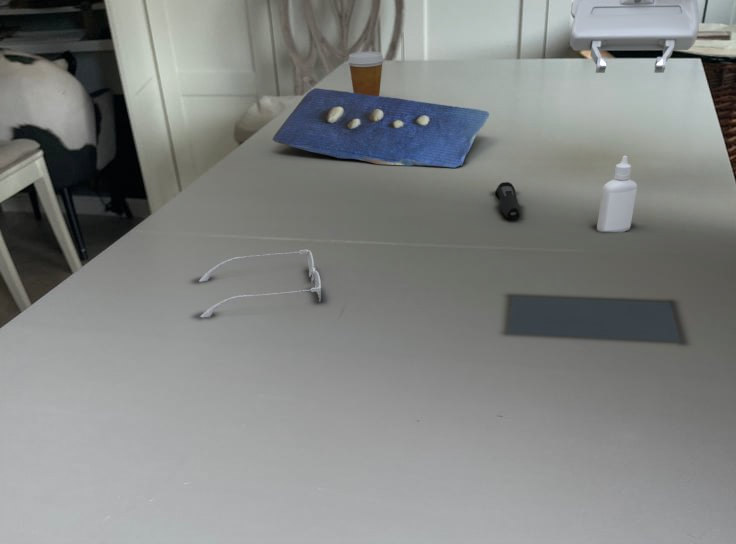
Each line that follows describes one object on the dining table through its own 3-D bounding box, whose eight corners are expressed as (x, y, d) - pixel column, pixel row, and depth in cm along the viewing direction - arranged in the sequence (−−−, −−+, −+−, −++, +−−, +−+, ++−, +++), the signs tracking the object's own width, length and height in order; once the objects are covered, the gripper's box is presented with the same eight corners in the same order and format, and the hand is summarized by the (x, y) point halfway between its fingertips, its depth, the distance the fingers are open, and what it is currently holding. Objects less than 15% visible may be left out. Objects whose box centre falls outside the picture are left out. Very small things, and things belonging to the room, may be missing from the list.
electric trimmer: (501, 225, 143) (502, 207, 141) (493, 195, 155) (495, 178, 153) (522, 224, 143) (524, 206, 141) (513, 195, 154) (515, 178, 152)
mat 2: (669, 306, 114) (670, 302, 114) (679, 345, 105) (680, 341, 105) (511, 300, 118) (512, 296, 118) (508, 337, 109) (508, 333, 108)
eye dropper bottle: (631, 235, 136) (644, 160, 128) (596, 234, 137) (607, 160, 129) (629, 226, 139) (642, 152, 132) (595, 225, 140) (606, 152, 133)
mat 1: (492, 145, 190) (495, 96, 181) (459, 213, 176) (461, 165, 167) (317, 122, 202) (311, 76, 193) (273, 185, 188) (265, 138, 179)
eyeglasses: (324, 310, 118) (322, 284, 116) (200, 323, 116) (195, 297, 114) (311, 270, 130) (309, 245, 127) (198, 281, 128) (194, 257, 126)
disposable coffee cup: (347, 102, 221) (345, 52, 213) (382, 99, 221) (381, 50, 214) (351, 110, 213) (349, 59, 206) (386, 107, 214) (386, 56, 207)
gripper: (574, -20, 134) (567, 58, 132) (704, -23, 130) (699, 57, 129) (570, 7, 140) (563, 82, 138) (694, 5, 136) (689, 82, 135)
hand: (630, 70), depth 134 cm, fingers open, 8 cm apart
